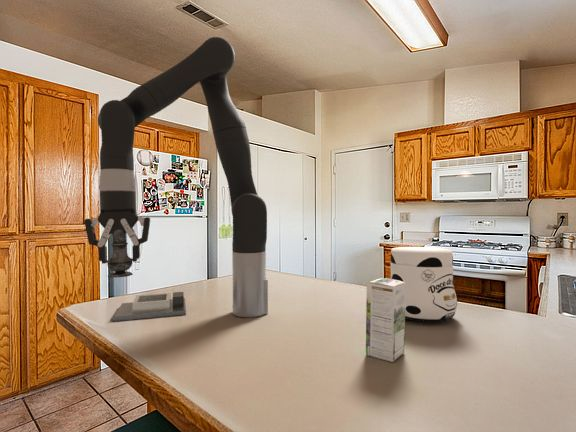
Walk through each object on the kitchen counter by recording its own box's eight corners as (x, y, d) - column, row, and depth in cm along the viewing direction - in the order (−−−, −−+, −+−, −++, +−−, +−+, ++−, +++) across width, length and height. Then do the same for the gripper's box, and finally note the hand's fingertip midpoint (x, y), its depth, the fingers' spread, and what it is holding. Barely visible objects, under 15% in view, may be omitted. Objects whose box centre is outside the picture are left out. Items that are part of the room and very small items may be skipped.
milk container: (462, 330, 80) (462, 254, 80) (385, 323, 85) (385, 252, 85) (452, 310, 96) (452, 247, 96) (388, 305, 102) (388, 245, 102)
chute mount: (185, 302, 107) (185, 288, 107) (185, 314, 93) (185, 299, 93) (122, 307, 101) (122, 293, 101) (113, 321, 88) (113, 305, 88)
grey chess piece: (123, 278, 76) (121, 224, 75) (100, 277, 77) (98, 224, 77) (139, 273, 81) (138, 223, 81) (118, 272, 83) (116, 223, 82)
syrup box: (377, 346, 71) (377, 277, 71) (405, 353, 67) (405, 280, 67) (365, 355, 66) (365, 281, 66) (394, 363, 62) (394, 285, 62)
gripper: (152, 191, 85) (153, 258, 85) (87, 191, 80) (88, 262, 80) (149, 189, 77) (151, 262, 78) (78, 188, 73) (80, 266, 73)
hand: (119, 261), depth 79 cm, fingers closed on grey chess piece, 6 cm apart
